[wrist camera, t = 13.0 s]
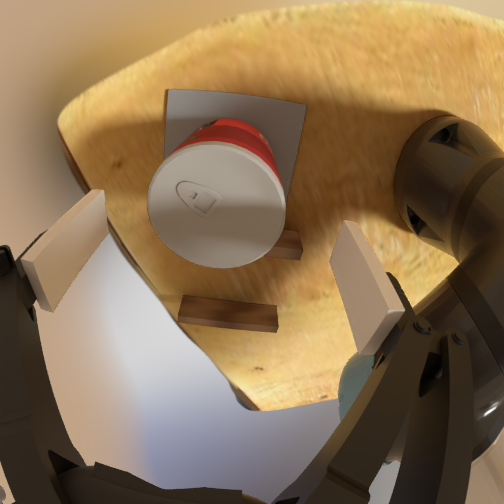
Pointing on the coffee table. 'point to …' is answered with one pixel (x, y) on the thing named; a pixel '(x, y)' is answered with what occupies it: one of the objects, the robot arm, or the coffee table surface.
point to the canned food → (219, 196)
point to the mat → (240, 108)
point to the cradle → (238, 312)
